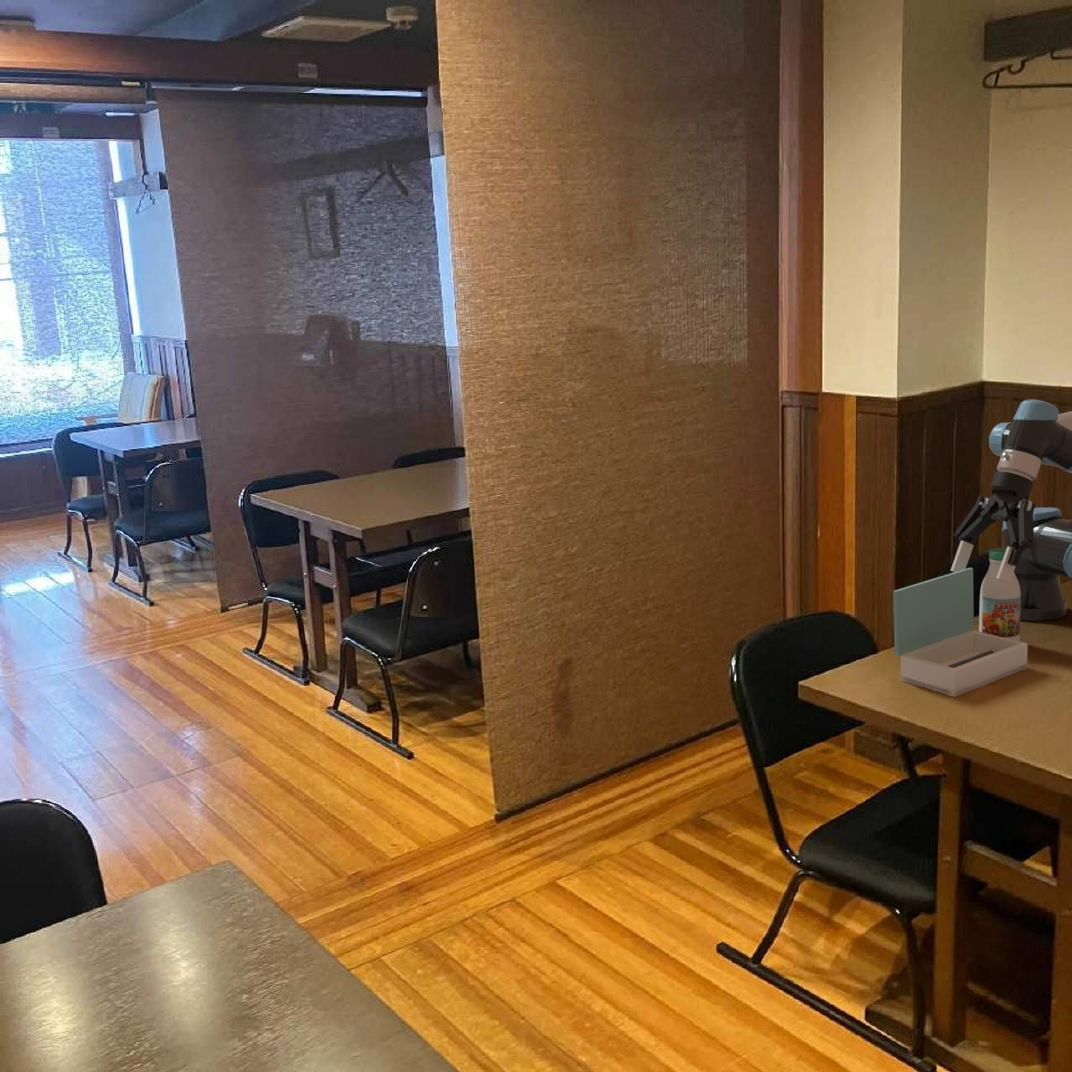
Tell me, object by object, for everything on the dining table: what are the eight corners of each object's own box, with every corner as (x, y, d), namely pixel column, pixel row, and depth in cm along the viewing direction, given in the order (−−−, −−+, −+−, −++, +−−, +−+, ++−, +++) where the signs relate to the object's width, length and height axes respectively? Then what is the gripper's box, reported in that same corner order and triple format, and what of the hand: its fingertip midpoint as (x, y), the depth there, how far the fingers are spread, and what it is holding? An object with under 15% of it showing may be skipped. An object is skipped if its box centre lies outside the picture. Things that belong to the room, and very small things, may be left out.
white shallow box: (972, 653, 230) (973, 630, 229) (1026, 668, 221) (1027, 643, 219) (900, 680, 219) (900, 655, 218) (954, 697, 209) (954, 671, 208)
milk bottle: (970, 643, 237) (972, 549, 232) (998, 636, 240) (1000, 543, 235) (999, 653, 230) (1002, 556, 225) (1027, 646, 233) (1031, 550, 228)
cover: (973, 629, 230) (970, 628, 230) (973, 568, 227) (969, 567, 228) (898, 656, 217) (894, 655, 218) (896, 591, 215) (893, 591, 216)
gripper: (959, 468, 239) (924, 563, 238) (1046, 471, 215) (1008, 577, 214) (986, 480, 241) (953, 575, 240) (1076, 485, 217) (1038, 590, 217)
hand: (979, 576), depth 227 cm, fingers open, 13 cm apart
